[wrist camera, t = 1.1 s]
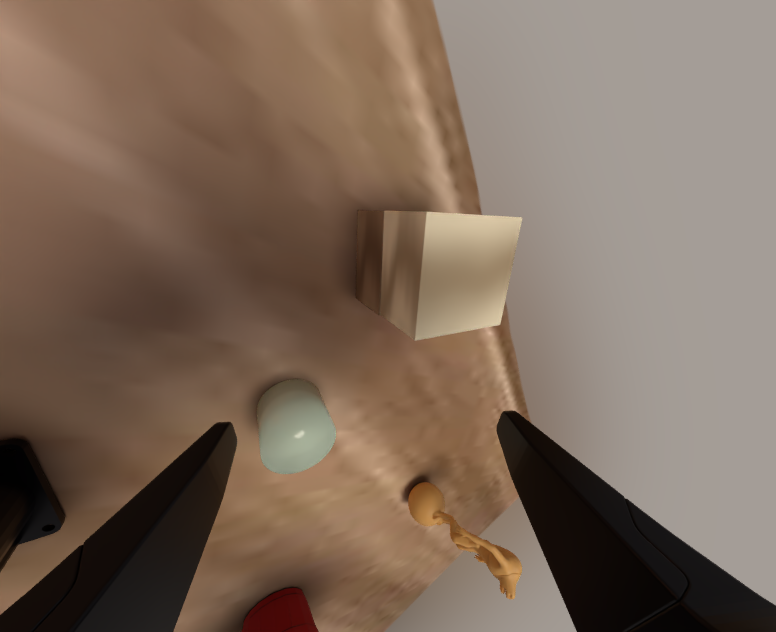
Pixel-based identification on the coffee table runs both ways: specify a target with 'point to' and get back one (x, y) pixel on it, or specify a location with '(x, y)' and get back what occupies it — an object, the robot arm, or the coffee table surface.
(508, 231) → the birch block
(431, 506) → the figurine
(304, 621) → the plastic cup
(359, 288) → the walnut block
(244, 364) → the coffee table surface
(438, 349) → the coffee table surface
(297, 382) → the stubby sage cylinder
